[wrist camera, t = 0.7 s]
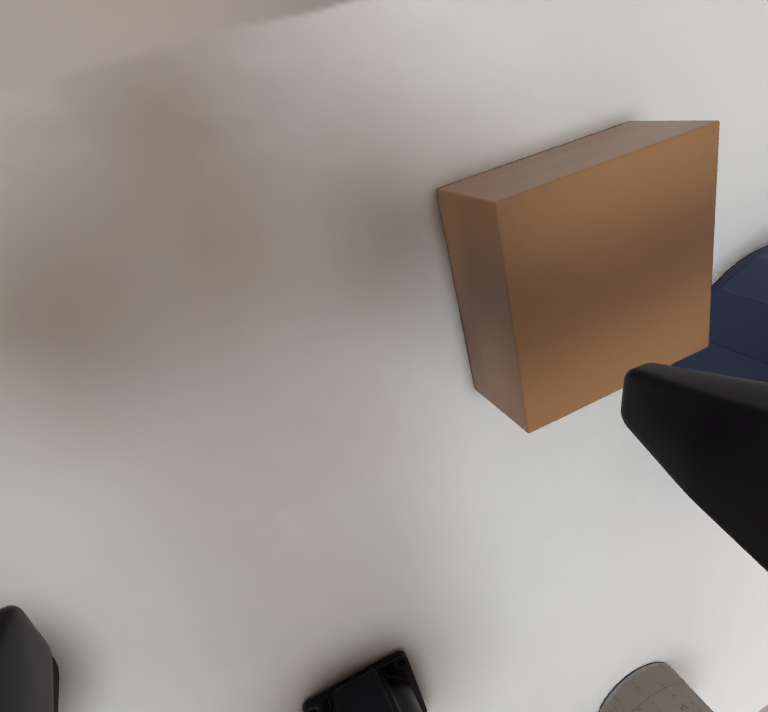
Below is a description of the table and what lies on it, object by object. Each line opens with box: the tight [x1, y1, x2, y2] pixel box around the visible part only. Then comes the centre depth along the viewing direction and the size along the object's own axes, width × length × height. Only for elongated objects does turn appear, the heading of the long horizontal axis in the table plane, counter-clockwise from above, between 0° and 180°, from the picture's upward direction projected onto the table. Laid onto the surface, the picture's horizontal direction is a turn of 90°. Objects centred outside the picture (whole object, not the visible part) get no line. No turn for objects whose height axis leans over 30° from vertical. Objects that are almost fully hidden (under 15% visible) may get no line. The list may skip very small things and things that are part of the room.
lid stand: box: [437, 121, 720, 433], centre depth 23 cm, size 10×10×4 cm
